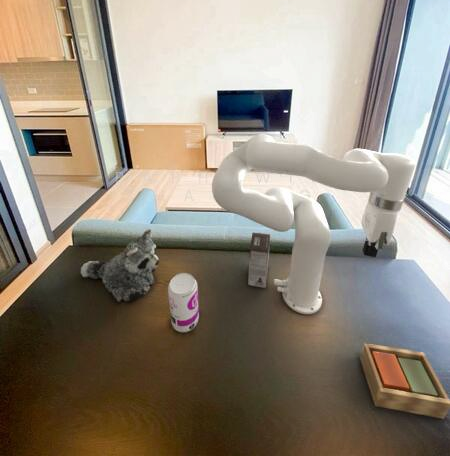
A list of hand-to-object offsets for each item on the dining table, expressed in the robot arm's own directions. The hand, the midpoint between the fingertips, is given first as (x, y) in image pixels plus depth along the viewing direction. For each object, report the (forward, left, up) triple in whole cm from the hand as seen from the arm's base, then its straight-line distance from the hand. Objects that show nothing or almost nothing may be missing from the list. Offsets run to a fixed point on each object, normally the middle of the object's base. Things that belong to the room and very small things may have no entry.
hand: (368, 254), depth 71 cm
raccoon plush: (-79, -9, -21) cm, 82 cm away
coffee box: (-32, +5, -21) cm, 38 cm away
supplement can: (-52, -16, -21) cm, 58 cm away
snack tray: (+5, -20, -21) cm, 30 cm away
